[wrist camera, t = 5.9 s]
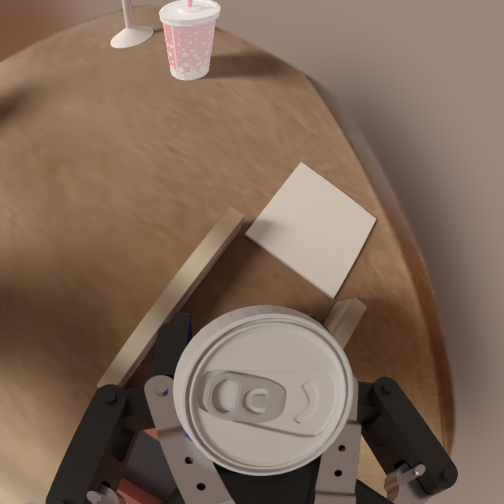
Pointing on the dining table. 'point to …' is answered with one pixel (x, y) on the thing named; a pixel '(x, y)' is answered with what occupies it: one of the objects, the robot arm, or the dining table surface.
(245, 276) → the dining table surface
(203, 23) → the beverage cup
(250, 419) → the beverage can
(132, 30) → the champagne flute
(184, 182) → the dining table surface
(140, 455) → the box
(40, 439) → the dining table surface
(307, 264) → the mat
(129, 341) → the channel
